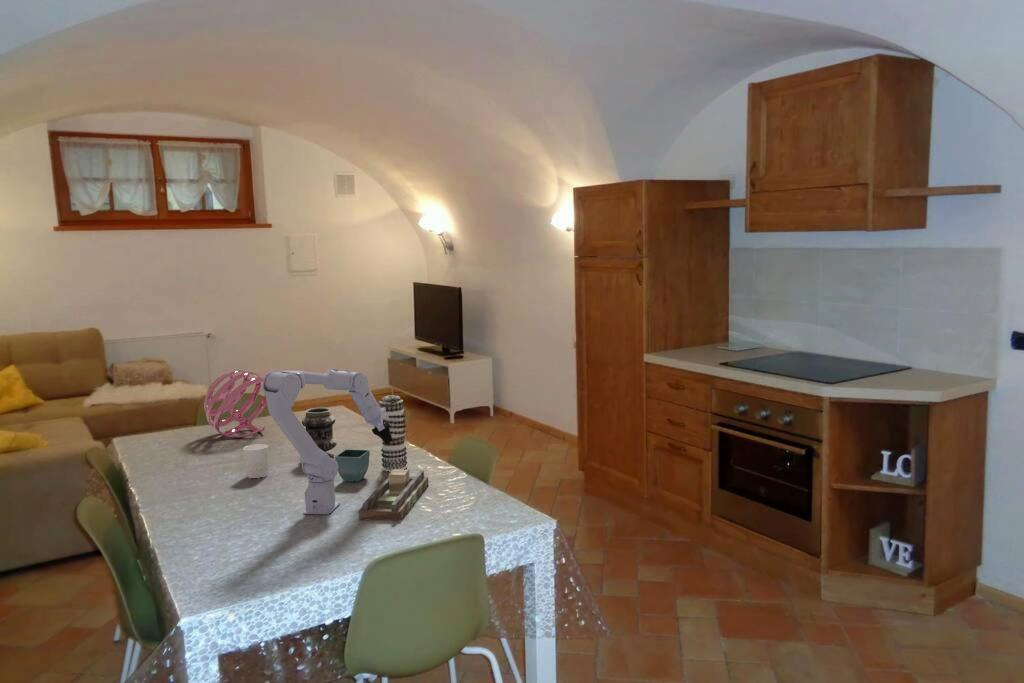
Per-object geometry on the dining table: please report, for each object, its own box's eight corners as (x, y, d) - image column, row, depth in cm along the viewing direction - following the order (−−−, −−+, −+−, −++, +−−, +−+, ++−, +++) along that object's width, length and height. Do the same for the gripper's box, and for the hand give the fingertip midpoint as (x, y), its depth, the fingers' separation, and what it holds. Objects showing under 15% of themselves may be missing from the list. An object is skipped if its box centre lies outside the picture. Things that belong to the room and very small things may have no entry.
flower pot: (361, 484, 248) (359, 457, 247) (335, 483, 250) (334, 456, 249) (371, 476, 257) (370, 449, 256) (347, 475, 259) (345, 449, 258)
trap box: (400, 520, 215) (399, 504, 214) (359, 519, 217) (358, 503, 216) (428, 484, 246) (427, 470, 245) (391, 483, 248) (391, 470, 247)
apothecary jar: (340, 460, 277) (337, 411, 274) (305, 465, 272) (302, 415, 270) (335, 452, 288) (332, 404, 286) (301, 456, 284) (298, 408, 281)
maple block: (405, 490, 233) (404, 474, 232) (389, 490, 233) (388, 474, 233) (409, 485, 238) (409, 469, 237) (394, 485, 238) (393, 469, 238)
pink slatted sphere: (296, 386, 318) (249, 348, 324) (242, 416, 296) (194, 374, 302) (283, 431, 334) (239, 394, 340) (232, 463, 312) (186, 423, 318)
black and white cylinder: (412, 464, 268) (409, 394, 265) (401, 472, 259) (397, 399, 256) (388, 463, 271) (384, 393, 267) (376, 471, 262) (372, 399, 258)
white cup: (240, 477, 260) (237, 448, 259) (258, 471, 267) (255, 443, 265) (257, 480, 256) (255, 451, 255) (274, 473, 263) (272, 445, 262)
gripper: (384, 407, 233) (403, 440, 240) (372, 387, 245) (390, 419, 252) (364, 419, 231) (383, 452, 238) (352, 399, 243) (371, 430, 250)
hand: (386, 436), depth 245 cm, fingers open, 7 cm apart
